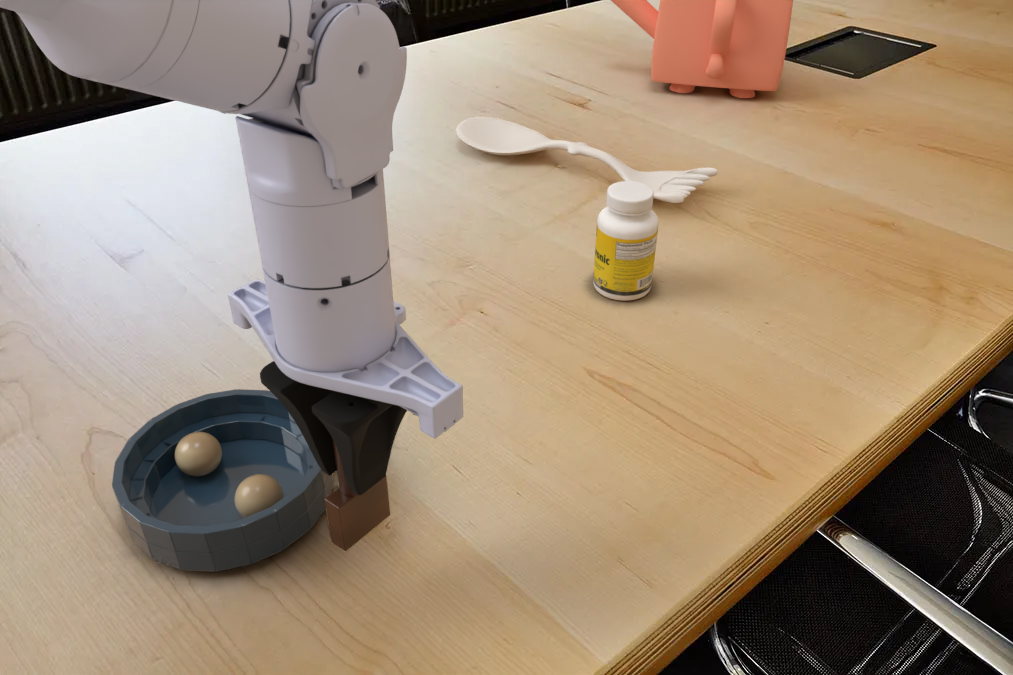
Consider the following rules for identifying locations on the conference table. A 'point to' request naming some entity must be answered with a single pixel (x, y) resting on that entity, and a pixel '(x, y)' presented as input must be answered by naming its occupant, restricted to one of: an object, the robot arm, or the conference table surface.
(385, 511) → the stir paddle
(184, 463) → the bead far
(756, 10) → the teapot
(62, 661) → the conference table surface
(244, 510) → the bead near
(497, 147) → the spoon
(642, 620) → the conference table surface
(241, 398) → the bowl
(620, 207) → the supplement bottle
